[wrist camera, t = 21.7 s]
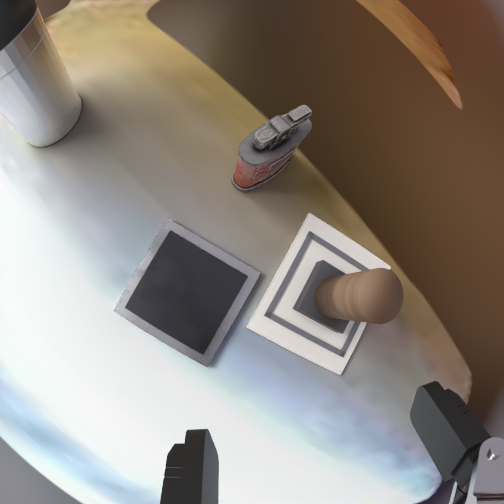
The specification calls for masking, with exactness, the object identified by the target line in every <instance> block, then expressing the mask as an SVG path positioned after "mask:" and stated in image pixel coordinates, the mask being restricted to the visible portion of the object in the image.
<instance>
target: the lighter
mask: <svg viewBox="0 0 504 504" xmlns="http://www.w3.org/2000/svg"><path fill="white" fill-rule="evenodd" d="M311 113H312V112H311V110H310V109H309V108H308V107H307V106H306V105H302V106H300V107H298V108H296V109H295V110H293V111H291V112H289V113H288V114H285V115H282V116H279V115H277V116H275V117H273V118H272V119H271V120H270V121H268V122H266V123H265V124H263V125H262V126H260V127H259V128H258V129H256V130H255V131H253V132H252V133H251V134H250V135H249V136H248V137H247V138H246V139H245V140H244V141H243V142H242V143H241V145H240V147H239V159H238V163H237V167H236V170H235V171H234V173H233V175H232V180H231V181H232V184H233V186H234V188H235V189H237V190H238V191H240V192H249V191H251V190H253V189H255V188H257V187H260V186H261V185H263V184H265V183H266V182H268V181H270V180H271V179H273V178H274V177H275V176H276V175H277V174H279V173H280V172H281V171H282V170H283V169H284V168H285V167H286V166H287V165H288V163H289V162H290V161H291V159H292V157H293V153H294V151H295V150H296V148H297V147H298V145H299V143H300V142H301V141H302V140H303V139H304V138H305V137H306V136H307V135H308V133H309V131H310V130H311V127H312V125H311V122H310V120H309V119H308V118H309V117H310V115H311Z"/></svg>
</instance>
